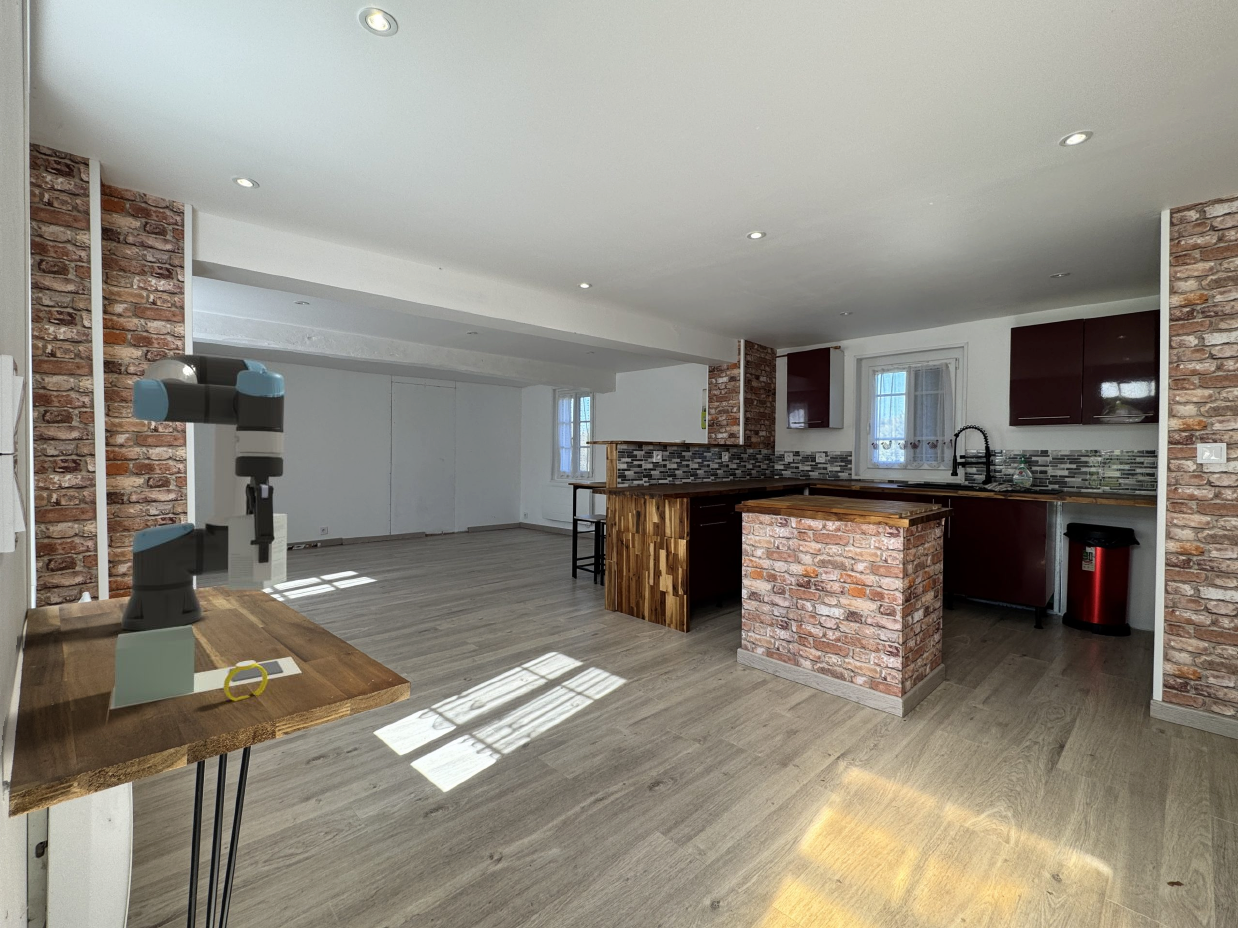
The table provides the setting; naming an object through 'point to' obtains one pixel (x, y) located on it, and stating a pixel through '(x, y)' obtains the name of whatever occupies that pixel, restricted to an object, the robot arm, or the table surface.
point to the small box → (243, 553)
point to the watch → (245, 666)
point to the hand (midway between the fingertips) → (257, 576)
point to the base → (234, 677)
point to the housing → (154, 664)
